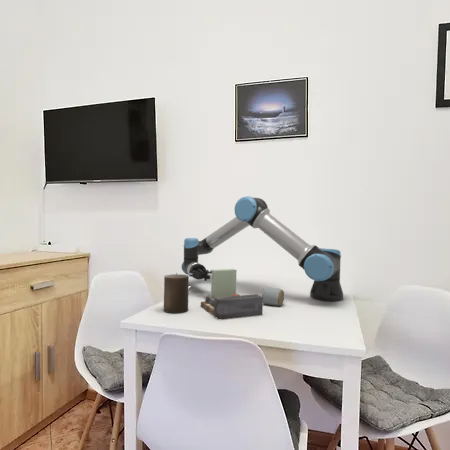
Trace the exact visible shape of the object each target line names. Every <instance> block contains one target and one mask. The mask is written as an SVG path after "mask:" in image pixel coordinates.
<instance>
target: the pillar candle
mask: <svg viewBox="0 0 450 450" xmlns="http://www.w3.org/2000/svg"><path fill="white" fill-rule="evenodd" d="M189 277H190V276H189V275H187V274H181V273H180V274H179V273H177V272H176V273H175V274H166V275H164V278H163V280H164V281H163V311H164V312H166V313H169V314H183V313H186V312H188V311H189V280H190V279H189Z"/></svg>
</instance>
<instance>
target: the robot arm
mask: <svg viewBox="0 0 450 450" xmlns="http://www.w3.org/2000/svg"><path fill="white" fill-rule="evenodd" d="M270 210H271V209H269V206H268V204H267V202H266V201H265V200H264V199H262V198H260V197H252V196H248V195H247V196H242V197H240V198H238V200H237V201H236V203H235V205H234V215H235V217H234V218H232V219H231V220H229V221H228V222H226V223H225V224H224V225H221V226H220V227H219V228H217V230H214V231H213V232H211V234H209V235H208V236H206V237H205V238H203V239H201V240H199V239H198V238H197V237H187V238H185V239H184V241H183V262H182V263H181V270H182V272H183V273H184V275H188V276H189V277H191V278H193V279H195V280H203V279H204V281H205V282H207V281H210V282H211V274H212V270H213V269H211V270H210V271H209V270H208V269H206V267H205V265H203V264H201V263H199V256H200V255H201V256H202V255H207V254H210V253H212V252H213V250H215V248H217V247H218V246H220V245H222V244H223V243H224V242H226V241H227V240H229V239H231V238H232V237H234V236H235V235H236V234H238V233H240V232H241V231H243V230H245V229H246V228H248V227H249V226H250V227H251V228H252V229H259V230H260V232H261V231H262V233H264V234H265V235H266V236H268V237H269V238H270V239H271V240H272V241H273V242H275V243H276V244H277V245H278V246H279V247H281V248H282V249H283V250H285V251H286V252H287V253H288V254H289V255H291V256H292V257H294V259H296V260H297V263H298V266H299V267H300V268H301V269H303V271H304V272H305V275H306V276H307V277H308V278H309V279H310V280H313V283H312V286H311V289H310V292H309V296H310V298H311V299H314V300H318V301H325V302H326V301H327V302H339V301H343V300H344V292H343V287H342V284H341V258H342V255H341V250H339V249H334V248H320V247H318V246H317V245H316V244H314V245H313V244H311V245H310V244H309V243H307V242H306V241H305V240H304V239H302V238H301V237H300V236H298V235H297V234H296V233H295V232H294V231H292V230H291V229H290V228H288V227H287V226H286V225H285V224H284V223H282V222H281V221H280V220H279V219H277V218H276V217H275V216H273V215H272V214H271V212H270Z"/></svg>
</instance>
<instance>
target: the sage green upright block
mask: <svg viewBox="0 0 450 450" xmlns="http://www.w3.org/2000/svg"><path fill="white" fill-rule="evenodd" d="M211 270H212V274H211V281H210V283H211V285H210V291H211V292H210V297H212V298H213V299H214V298H215V297H228V296H232V295H233V294H237V271H238V270H237V269H235V268H223V269H211Z"/></svg>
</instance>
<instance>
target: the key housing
mask: <svg viewBox="0 0 450 450" xmlns="http://www.w3.org/2000/svg"><path fill="white" fill-rule="evenodd" d="M204 299H205V300H204V301H203V300H202V301H200V308H202V309H203V308H204V310H205V311H206V310H207V311H206V312H208V313H209V312H210V313H211V314H210V313H209V314H210V315H212V314H213V315H214V316H213V315H212V316H213V317H215V318H216V317H217V318H218V319H217V318H216V319H217V320H219V319H221V320H227V319H228V320H229V318H230V319H238V318H248V317H257V316H263V309H264V307H263V305H264V304H263V297H262V295H259V294H257V293H255V294H242V295H240V294H239V293H236V294H233V295H232V296H228V297H215V298H214V299H213V298H212V297H211V295H208V294H207V295H205V298H204Z"/></svg>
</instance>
